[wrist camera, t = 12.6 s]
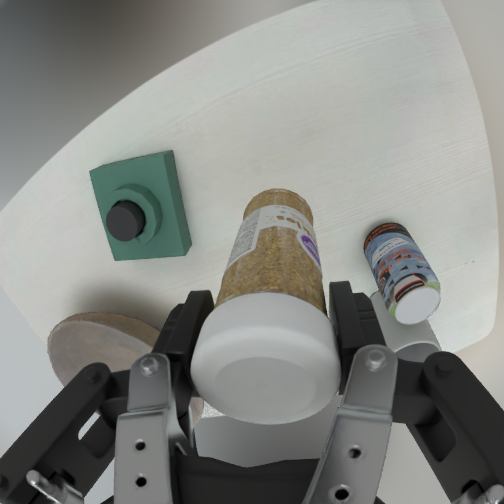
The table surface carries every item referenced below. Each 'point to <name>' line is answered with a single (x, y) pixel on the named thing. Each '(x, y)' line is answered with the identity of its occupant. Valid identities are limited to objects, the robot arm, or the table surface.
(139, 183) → the green push button box
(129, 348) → the bowl
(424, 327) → the mug
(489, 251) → the table surface
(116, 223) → the button
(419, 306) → the beverage can
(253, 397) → the sprinkles bottle
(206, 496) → the robot arm
